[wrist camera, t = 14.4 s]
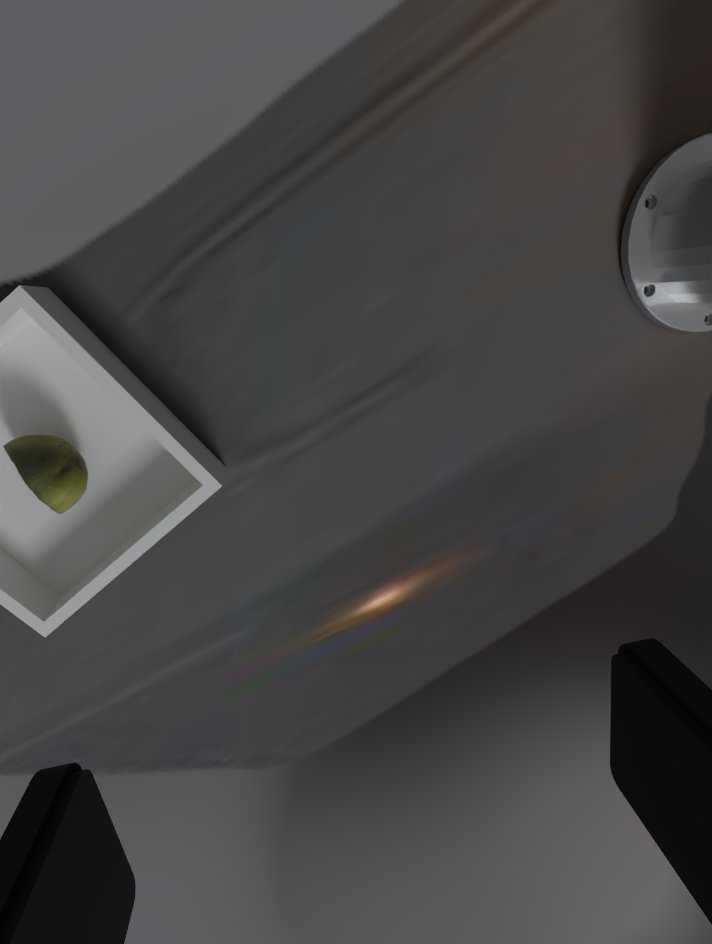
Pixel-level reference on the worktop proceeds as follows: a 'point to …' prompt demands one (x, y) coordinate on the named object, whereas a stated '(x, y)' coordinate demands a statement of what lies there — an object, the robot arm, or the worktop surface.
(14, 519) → the bin
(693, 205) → the robot arm
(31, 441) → the lime
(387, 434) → the worktop surface
